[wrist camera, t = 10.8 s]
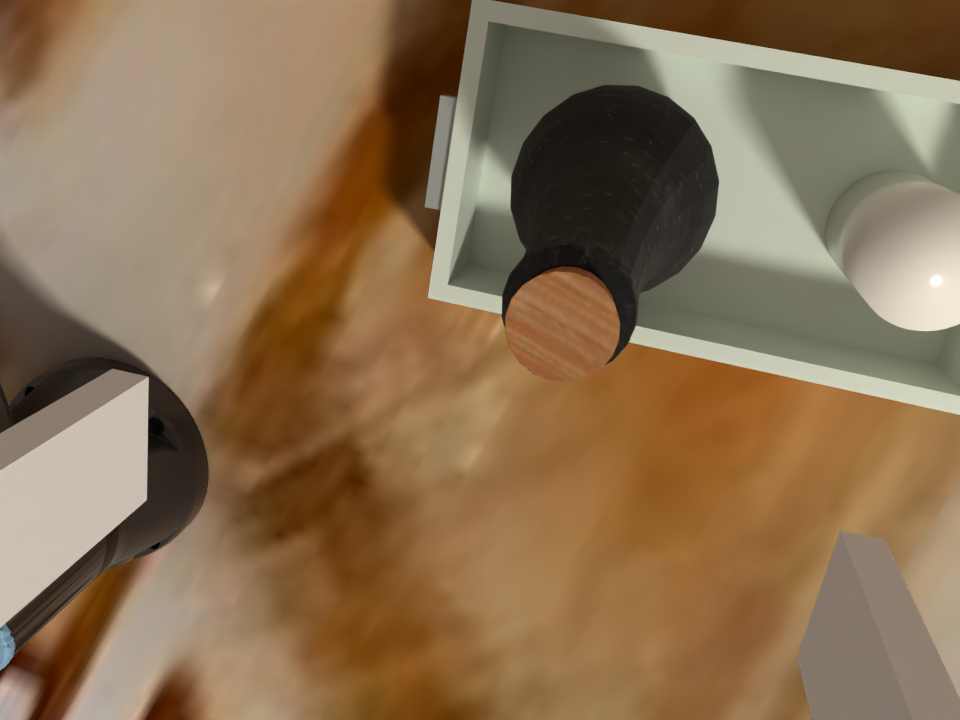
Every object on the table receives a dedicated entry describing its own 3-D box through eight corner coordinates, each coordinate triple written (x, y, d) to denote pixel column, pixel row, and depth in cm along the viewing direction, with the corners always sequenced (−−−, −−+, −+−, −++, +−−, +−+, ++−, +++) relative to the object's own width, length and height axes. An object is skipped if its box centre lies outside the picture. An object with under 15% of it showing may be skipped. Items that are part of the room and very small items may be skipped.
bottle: (585, 45, 49) (478, 34, 21) (751, 140, 48) (866, 256, 21) (496, 211, 53) (307, 386, 25) (649, 298, 52) (631, 574, 25)
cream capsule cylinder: (810, 271, 50) (839, 315, 42) (845, 159, 48) (883, 181, 40) (926, 295, 49) (978, 344, 41) (967, 182, 47) (1031, 210, 39)
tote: (436, 269, 55) (411, 294, 50) (477, 0, 50) (453, -7, 44) (961, 382, 51) (997, 422, 46) (1071, 102, 46) (1127, 109, 40)
